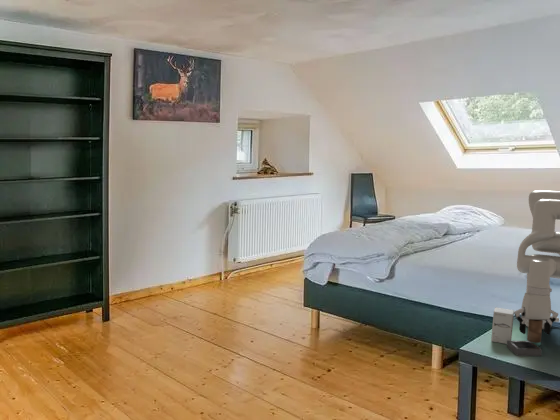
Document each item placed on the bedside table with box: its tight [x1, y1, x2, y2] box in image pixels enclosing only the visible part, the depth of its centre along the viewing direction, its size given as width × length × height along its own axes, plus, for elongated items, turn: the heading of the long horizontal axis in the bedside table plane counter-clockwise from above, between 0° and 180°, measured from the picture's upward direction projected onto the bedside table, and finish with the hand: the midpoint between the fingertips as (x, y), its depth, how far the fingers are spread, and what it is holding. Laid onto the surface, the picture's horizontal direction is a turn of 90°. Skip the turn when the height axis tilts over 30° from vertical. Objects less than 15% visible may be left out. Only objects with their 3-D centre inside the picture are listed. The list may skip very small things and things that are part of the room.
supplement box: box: [490, 306, 515, 345], centre depth 215 cm, size 7×7×13 cm
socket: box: [506, 340, 542, 357], centre depth 204 cm, size 9×9×2 cm
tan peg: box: [526, 320, 543, 347], centre depth 212 cm, size 5×5×10 cm
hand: (534, 333), depth 211 cm, fingers open, 9 cm apart
